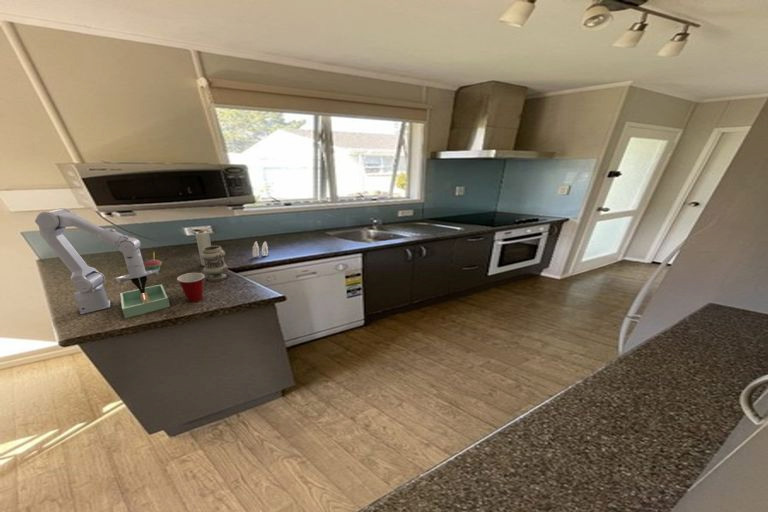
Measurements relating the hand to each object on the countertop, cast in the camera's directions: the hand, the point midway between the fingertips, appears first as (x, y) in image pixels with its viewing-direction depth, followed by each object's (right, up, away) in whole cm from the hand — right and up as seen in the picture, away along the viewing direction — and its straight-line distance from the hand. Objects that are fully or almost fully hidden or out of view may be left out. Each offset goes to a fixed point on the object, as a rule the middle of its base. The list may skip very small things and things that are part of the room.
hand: (142, 292), depth 131 cm
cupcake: (-25, +8, +38) cm, 46 cm away
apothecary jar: (+17, +4, +31) cm, 35 cm away
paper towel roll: (-1, +11, +50) cm, 51 cm away
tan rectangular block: (0, -3, +1) cm, 3 cm away
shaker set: (+25, +2, +24) cm, 35 cm away
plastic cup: (+21, -4, +6) cm, 22 cm away
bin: (+1, -5, 0) cm, 6 cm away
